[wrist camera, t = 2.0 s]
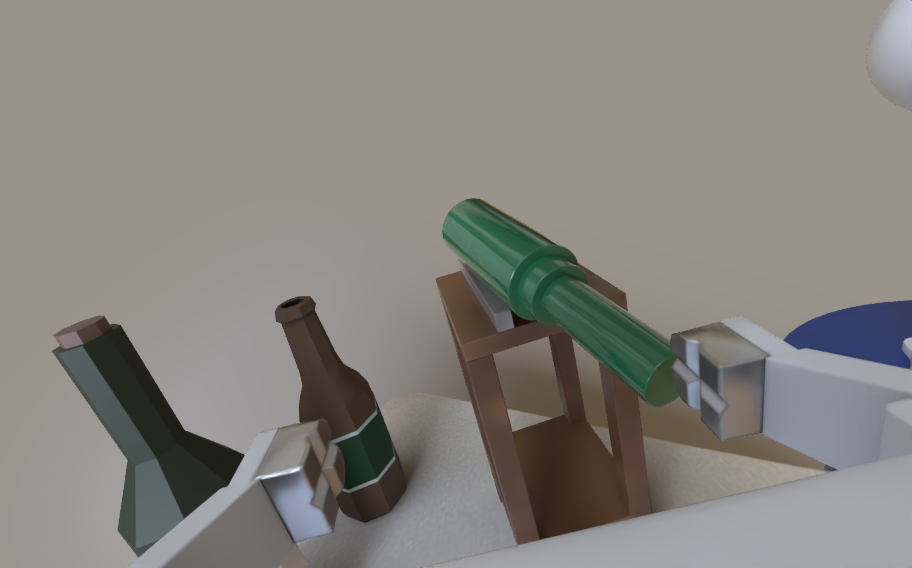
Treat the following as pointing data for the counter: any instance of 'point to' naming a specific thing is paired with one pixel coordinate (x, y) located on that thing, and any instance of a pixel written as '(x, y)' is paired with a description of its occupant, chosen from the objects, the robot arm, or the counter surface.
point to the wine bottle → (146, 436)
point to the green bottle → (559, 296)
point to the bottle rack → (553, 441)
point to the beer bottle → (343, 414)
